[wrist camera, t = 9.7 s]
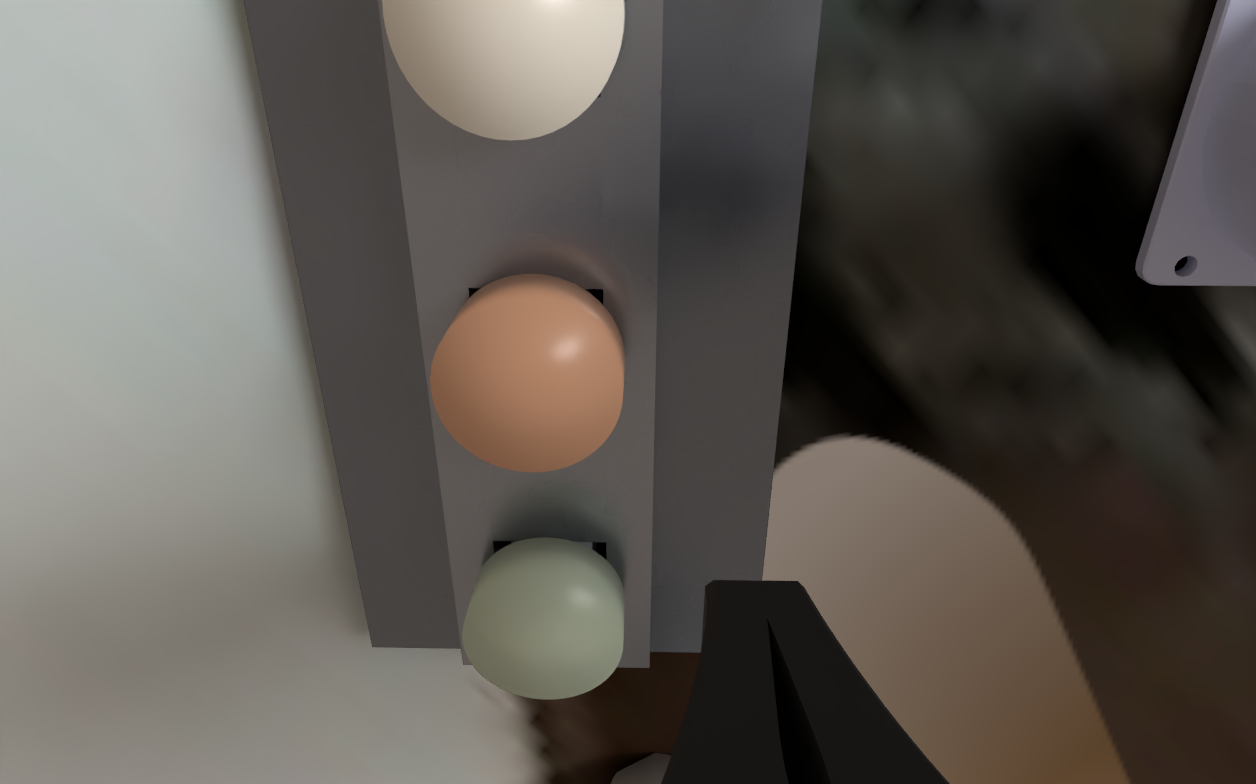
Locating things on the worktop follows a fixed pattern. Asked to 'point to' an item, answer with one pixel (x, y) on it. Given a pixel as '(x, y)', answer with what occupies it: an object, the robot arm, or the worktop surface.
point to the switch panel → (699, 298)
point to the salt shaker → (644, 771)
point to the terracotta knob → (530, 374)
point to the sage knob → (546, 619)
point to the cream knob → (506, 59)
